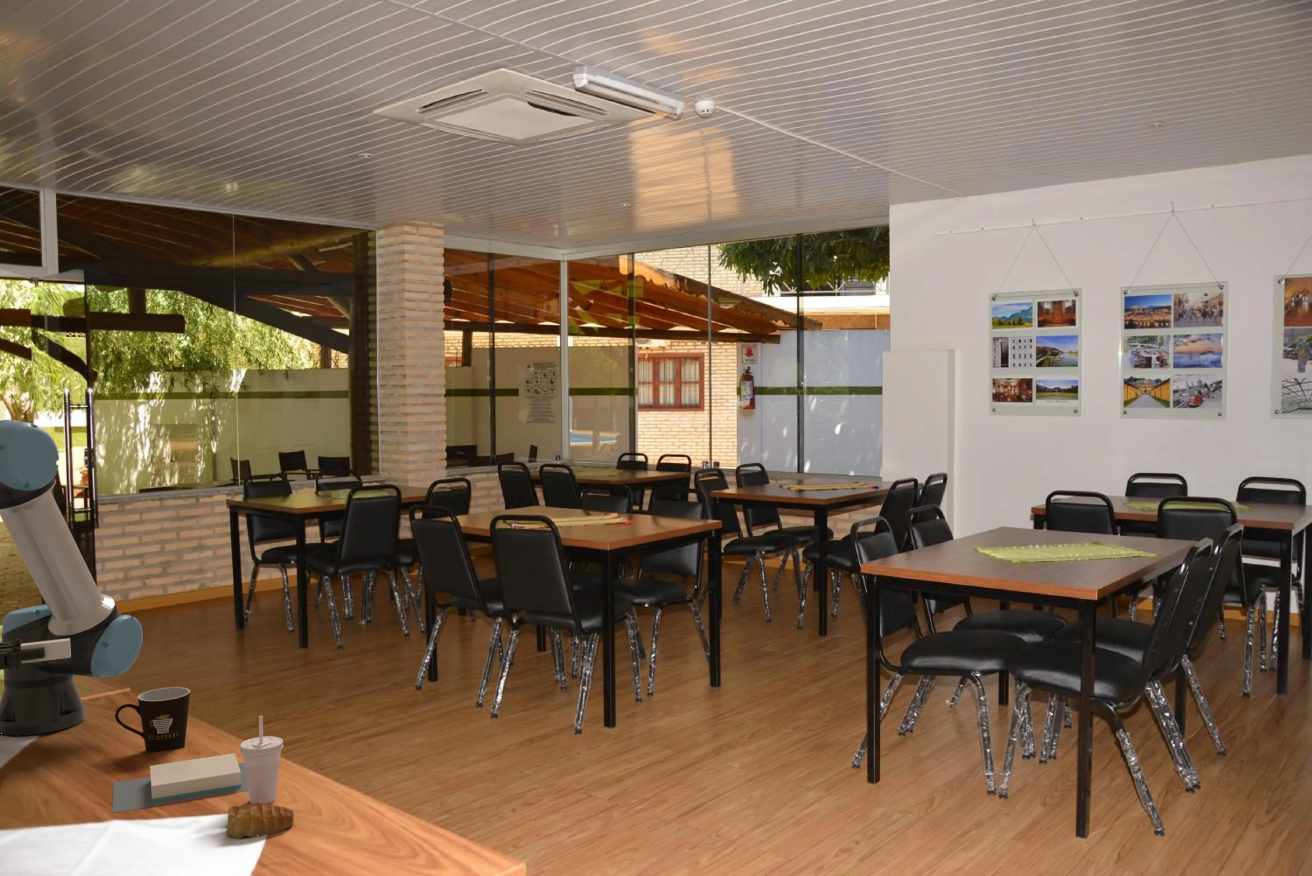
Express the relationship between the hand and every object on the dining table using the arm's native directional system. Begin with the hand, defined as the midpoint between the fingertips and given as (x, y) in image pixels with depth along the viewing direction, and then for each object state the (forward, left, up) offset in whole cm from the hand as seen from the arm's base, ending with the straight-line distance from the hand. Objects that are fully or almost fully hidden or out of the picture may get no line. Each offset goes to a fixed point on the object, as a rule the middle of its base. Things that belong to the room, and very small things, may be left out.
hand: (70, 648), depth 162 cm
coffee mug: (-23, +12, -25) cm, 36 cm away
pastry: (+23, +24, -25) cm, 42 cm away
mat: (+1, +15, -25) cm, 29 cm away
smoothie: (+13, +26, -25) cm, 39 cm away
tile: (+1, +11, -23) cm, 25 cm away
